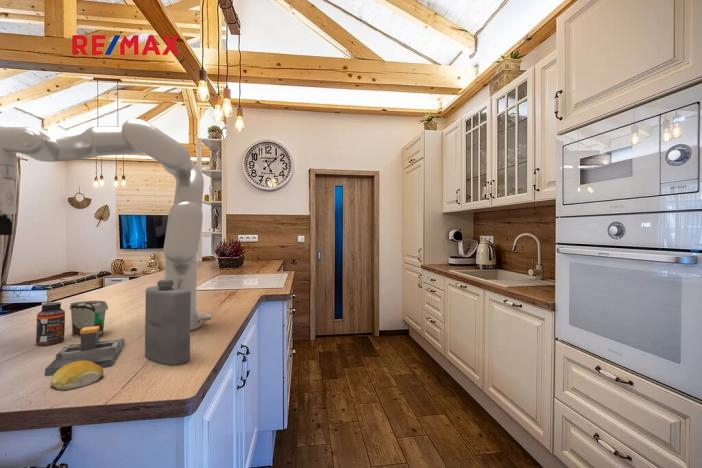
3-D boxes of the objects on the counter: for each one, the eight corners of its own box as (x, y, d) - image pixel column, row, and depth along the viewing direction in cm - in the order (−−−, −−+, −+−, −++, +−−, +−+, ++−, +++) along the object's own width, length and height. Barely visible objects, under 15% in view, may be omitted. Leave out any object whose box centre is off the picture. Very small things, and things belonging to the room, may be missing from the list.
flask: (137, 355, 82) (138, 278, 82) (160, 349, 87) (161, 276, 87) (171, 368, 74) (172, 283, 74) (194, 360, 79) (195, 280, 79)
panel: (124, 343, 90) (124, 334, 90) (111, 365, 75) (112, 354, 75) (70, 350, 85) (70, 340, 85) (44, 375, 70) (45, 363, 70)
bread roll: (92, 369, 74) (92, 352, 74) (108, 379, 69) (108, 361, 69) (44, 383, 67) (44, 364, 67) (58, 395, 62) (58, 375, 62)
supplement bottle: (46, 347, 87) (47, 306, 87) (30, 345, 89) (30, 305, 89) (70, 340, 93) (70, 301, 93) (54, 338, 94) (54, 300, 94)
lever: (99, 348, 82) (99, 325, 82) (96, 352, 79) (96, 329, 79) (83, 350, 81) (83, 327, 81) (79, 354, 78) (80, 330, 78)
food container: (117, 333, 100) (117, 302, 100) (96, 339, 94) (96, 306, 94) (91, 329, 104) (91, 299, 104) (69, 335, 98) (69, 302, 98)
